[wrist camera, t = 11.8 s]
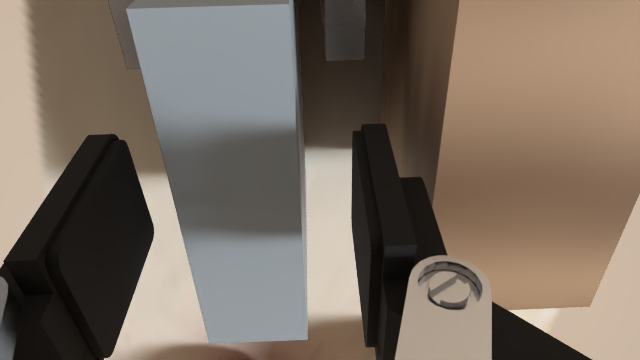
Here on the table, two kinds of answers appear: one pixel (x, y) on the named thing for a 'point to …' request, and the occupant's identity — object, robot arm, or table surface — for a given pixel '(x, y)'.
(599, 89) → the brown tall rectangular block
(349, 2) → the gray wooden bench
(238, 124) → the pale blue tall prism
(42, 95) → the table surface
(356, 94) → the table surface
